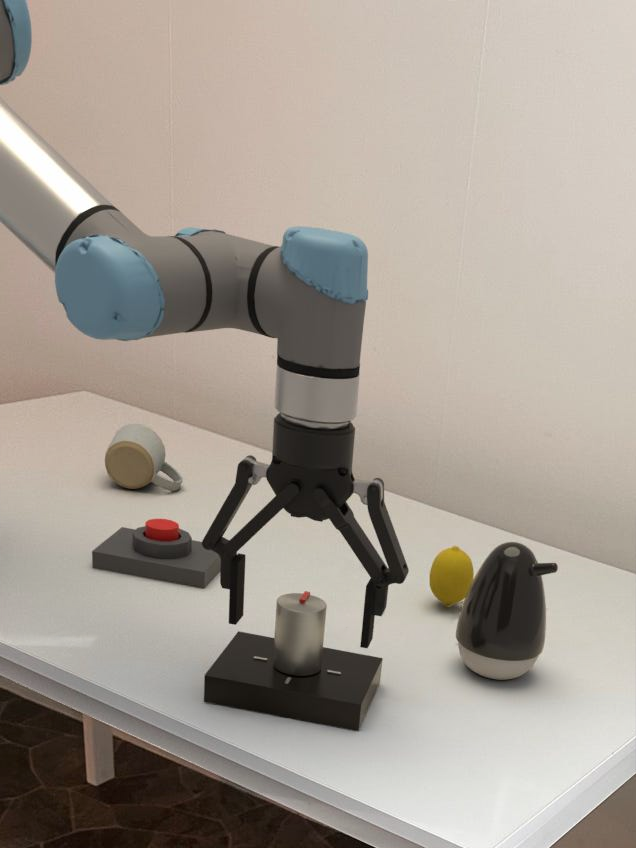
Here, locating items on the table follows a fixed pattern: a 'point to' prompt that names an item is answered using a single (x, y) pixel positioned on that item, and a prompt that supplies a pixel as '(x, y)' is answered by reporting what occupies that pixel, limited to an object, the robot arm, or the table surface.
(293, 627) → the dial
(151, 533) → the power button
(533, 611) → the pump dispenser
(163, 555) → the button block
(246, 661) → the dial panel
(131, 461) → the ceramic mug
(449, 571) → the lemon
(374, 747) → the table surface
